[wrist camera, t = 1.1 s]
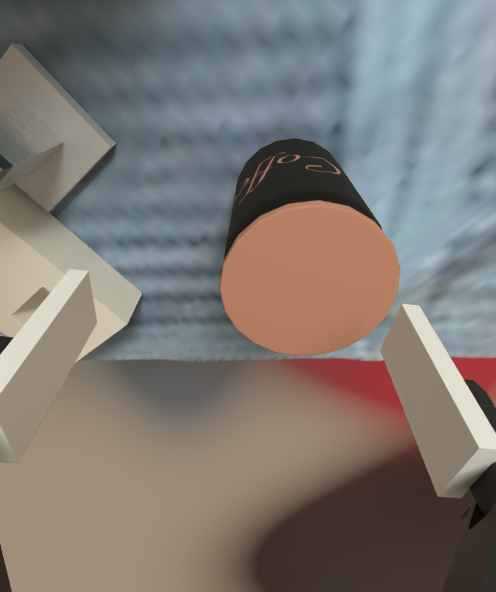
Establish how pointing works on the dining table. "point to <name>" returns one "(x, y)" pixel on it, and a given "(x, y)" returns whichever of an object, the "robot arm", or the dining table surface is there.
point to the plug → (23, 144)
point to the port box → (53, 269)
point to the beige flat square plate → (52, 126)
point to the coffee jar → (304, 254)
